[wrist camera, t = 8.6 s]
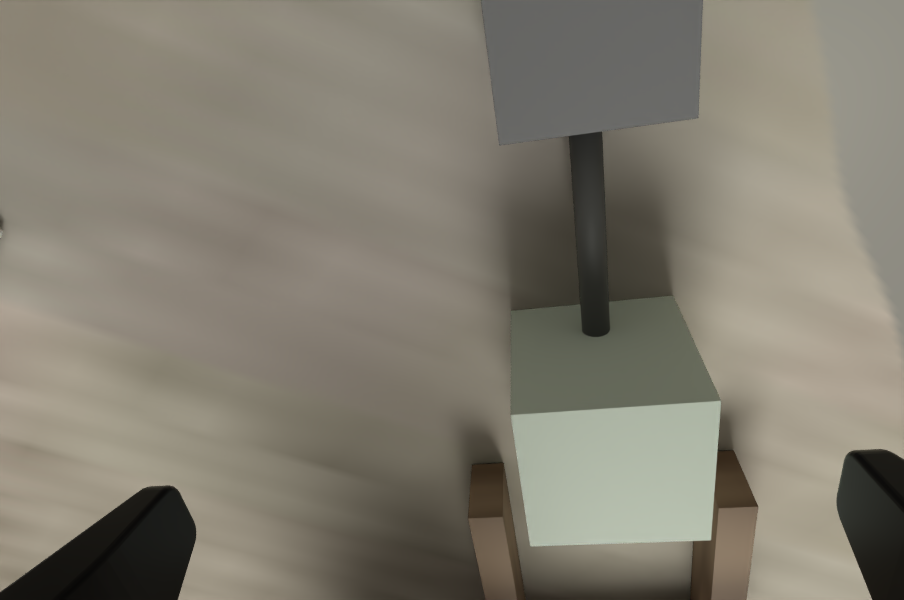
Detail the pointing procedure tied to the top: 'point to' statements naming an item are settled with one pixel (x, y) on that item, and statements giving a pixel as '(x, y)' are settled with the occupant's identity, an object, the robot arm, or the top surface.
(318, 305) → the top surface
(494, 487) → the walnut lane
